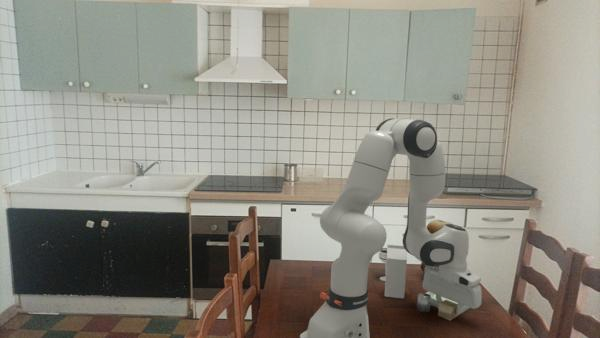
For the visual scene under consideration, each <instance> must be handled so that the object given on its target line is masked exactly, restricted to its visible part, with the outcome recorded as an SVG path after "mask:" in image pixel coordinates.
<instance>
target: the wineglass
mask: <svg viewBox="0 0 600 338" xmlns="http://www.w3.org/2000/svg"><path fill="white" fill-rule="evenodd" d="M378 257H379V260H380V261H381V262H382V263H384V265H386V260H387V247H383V248H382V249H381V250H380V251H379V252H378ZM385 277H386V269H385V275H383V276H380V277H379V280H381V281H384V282H385Z"/></svg>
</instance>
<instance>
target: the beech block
mask: <svg viewBox="0 0 600 338" xmlns="http://www.w3.org/2000/svg"><path fill="white" fill-rule="evenodd" d="M455 308H458V304H456V303H454V302H451V301H449V300H444V301H442V302H440V303H439V308H438V309H437V310H438V312H437V316H439V317H441V318H443V319H446V320H448V321H452V320H453V319H455V318H457V317H458V315H456V314H454V309H455Z"/></svg>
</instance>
